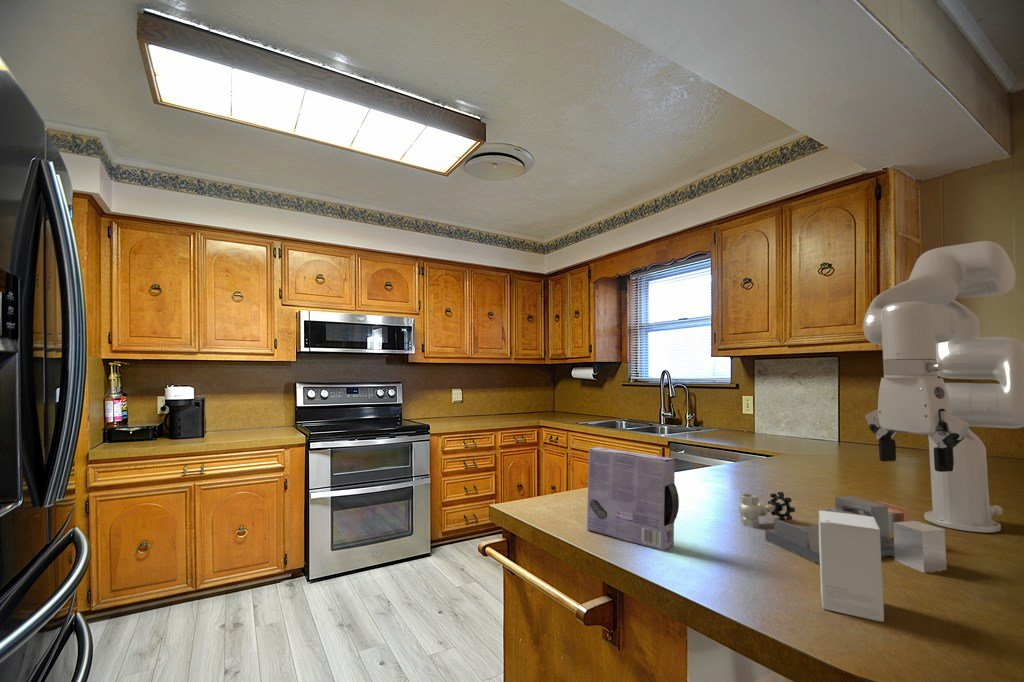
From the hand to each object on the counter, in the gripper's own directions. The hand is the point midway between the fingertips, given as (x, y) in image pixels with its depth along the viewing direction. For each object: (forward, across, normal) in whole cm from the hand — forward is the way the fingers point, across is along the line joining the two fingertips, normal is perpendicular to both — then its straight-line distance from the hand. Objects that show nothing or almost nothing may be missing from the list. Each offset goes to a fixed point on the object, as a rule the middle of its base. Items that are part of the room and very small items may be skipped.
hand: (914, 465), depth 86 cm
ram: (+15, +11, -2) cm, 19 cm away
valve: (+18, +27, +9) cm, 34 cm away
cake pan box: (+18, +25, +43) cm, 53 cm away
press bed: (+18, +11, +7) cm, 22 cm away
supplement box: (+18, -9, +25) cm, 32 cm away
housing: (+18, 0, 0) cm, 18 cm away
